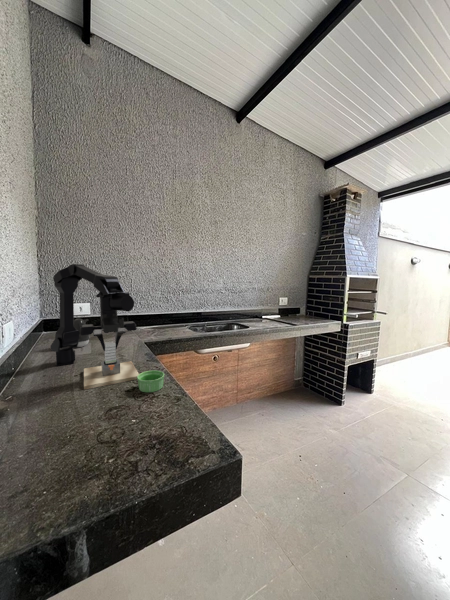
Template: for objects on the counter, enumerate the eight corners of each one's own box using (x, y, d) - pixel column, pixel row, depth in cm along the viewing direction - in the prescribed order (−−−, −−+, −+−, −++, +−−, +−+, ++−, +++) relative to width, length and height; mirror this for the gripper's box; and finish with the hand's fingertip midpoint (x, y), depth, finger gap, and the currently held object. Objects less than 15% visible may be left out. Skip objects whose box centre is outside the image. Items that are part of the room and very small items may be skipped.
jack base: (84, 389, 80) (83, 375, 80) (84, 371, 96) (83, 359, 95) (139, 378, 89) (139, 365, 89) (131, 363, 105) (131, 352, 104)
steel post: (105, 363, 90) (104, 344, 89) (104, 360, 93) (104, 342, 92) (116, 362, 91) (115, 343, 91) (115, 359, 95) (114, 341, 94)
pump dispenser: (94, 345, 132) (93, 318, 131) (74, 350, 124) (72, 321, 122) (84, 342, 138) (83, 316, 136) (64, 346, 129) (63, 319, 128)
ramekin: (131, 390, 80) (131, 378, 80) (149, 380, 88) (149, 368, 88) (153, 395, 77) (153, 382, 76) (169, 384, 85) (169, 372, 85)
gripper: (79, 314, 79) (81, 360, 80) (138, 310, 88) (139, 352, 89) (80, 309, 88) (81, 351, 90) (133, 307, 98) (134, 344, 99)
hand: (110, 349), depth 92 cm, fingers closed on steel post, 4 cm apart
